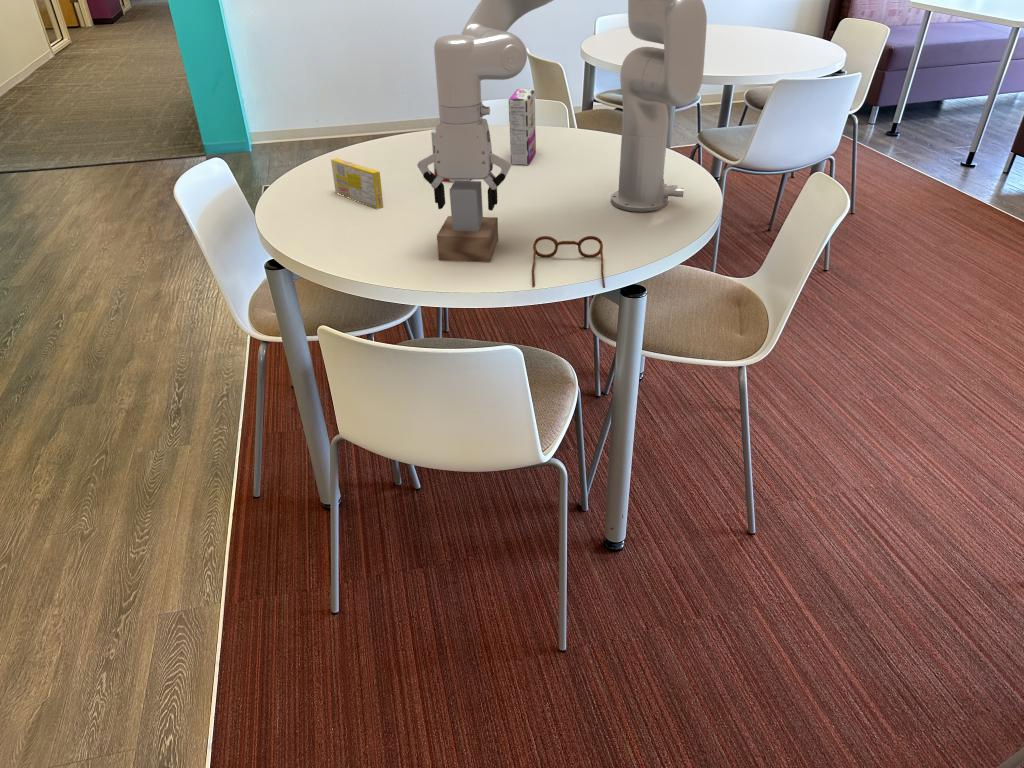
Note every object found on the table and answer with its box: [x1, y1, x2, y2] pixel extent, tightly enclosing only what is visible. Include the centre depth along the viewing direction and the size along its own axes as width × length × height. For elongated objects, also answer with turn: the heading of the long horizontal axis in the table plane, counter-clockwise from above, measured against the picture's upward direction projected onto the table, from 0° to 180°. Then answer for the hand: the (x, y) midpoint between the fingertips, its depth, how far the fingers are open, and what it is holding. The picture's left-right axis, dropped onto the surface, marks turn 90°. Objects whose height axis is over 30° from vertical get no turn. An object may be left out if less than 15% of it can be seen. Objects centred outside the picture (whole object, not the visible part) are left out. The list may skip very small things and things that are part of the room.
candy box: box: [330, 157, 384, 209], centre depth 164 cm, size 16×2×8 cm, turn 47°
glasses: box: [531, 235, 606, 289], centre depth 130 cm, size 13×13×5 cm
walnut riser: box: [436, 215, 500, 263], centre depth 139 cm, size 10×10×5 cm
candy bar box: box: [508, 88, 537, 166], centre depth 184 cm, size 11×5×16 cm, turn 168°
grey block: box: [449, 180, 484, 232], centre depth 136 cm, size 5×5×8 cm
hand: (466, 207), depth 136 cm, fingers open, 9 cm apart
